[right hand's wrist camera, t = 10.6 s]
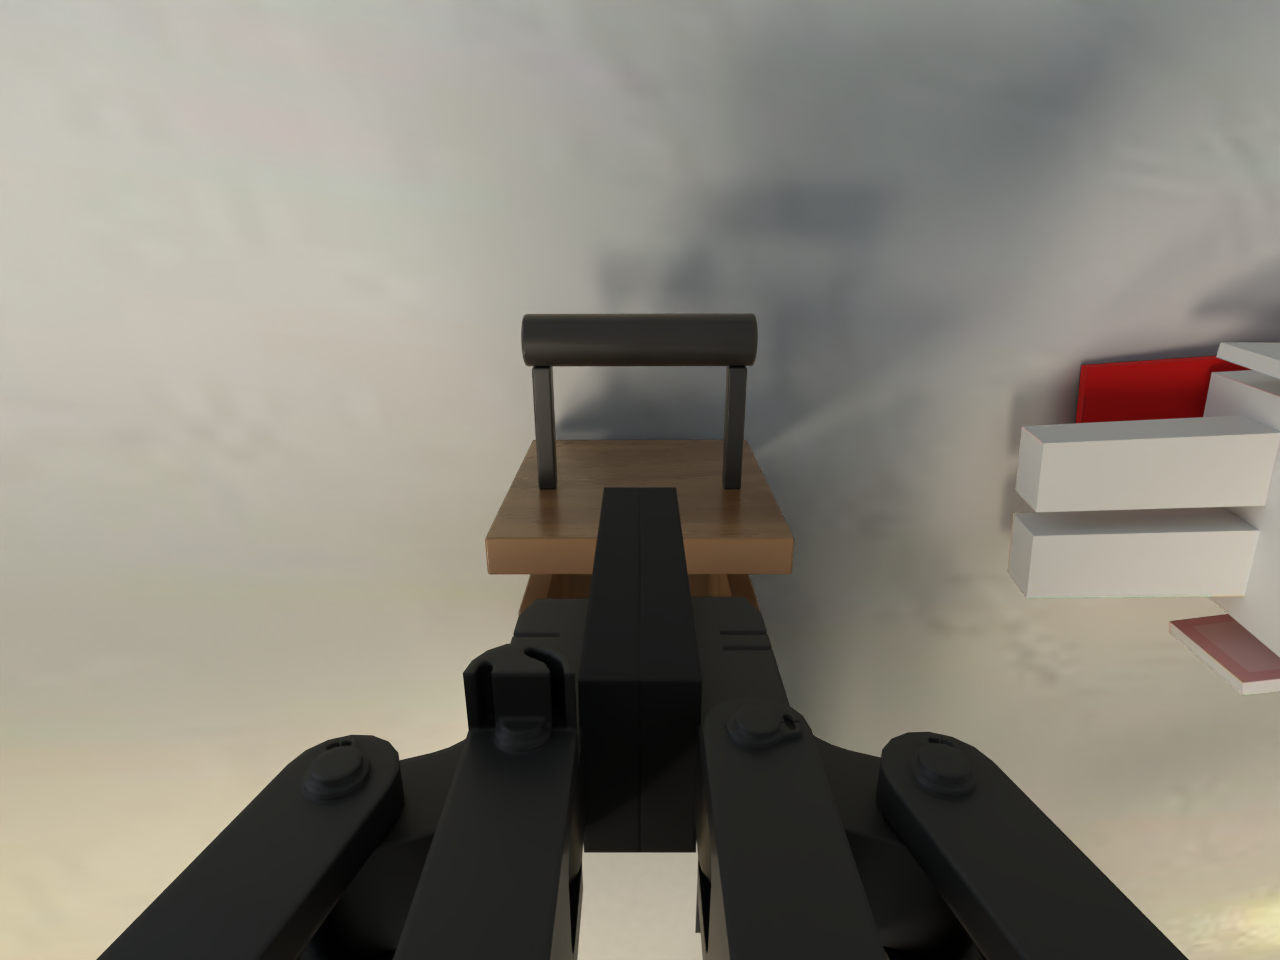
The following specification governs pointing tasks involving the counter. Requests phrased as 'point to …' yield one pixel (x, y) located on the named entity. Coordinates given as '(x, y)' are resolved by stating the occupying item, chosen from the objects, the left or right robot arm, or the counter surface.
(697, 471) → the drawer
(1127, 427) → the toy
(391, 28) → the counter surface
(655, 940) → the cabinet
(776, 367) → the counter surface
